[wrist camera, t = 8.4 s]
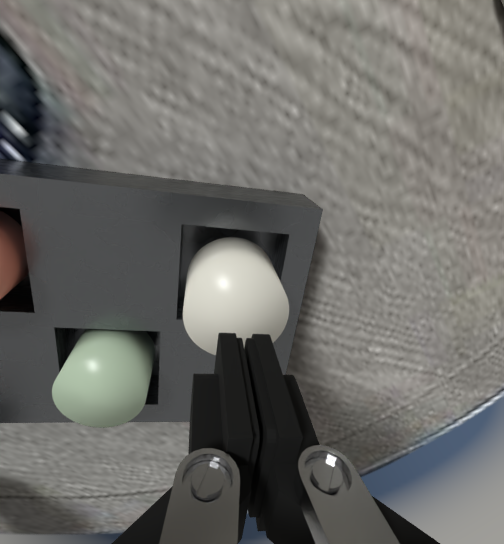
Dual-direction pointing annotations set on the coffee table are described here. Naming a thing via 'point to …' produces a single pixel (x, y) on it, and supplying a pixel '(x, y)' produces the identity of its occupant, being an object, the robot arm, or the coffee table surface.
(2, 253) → the button coral
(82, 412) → the button sage
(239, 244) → the button ivory
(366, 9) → the coffee table surface
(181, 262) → the panel
